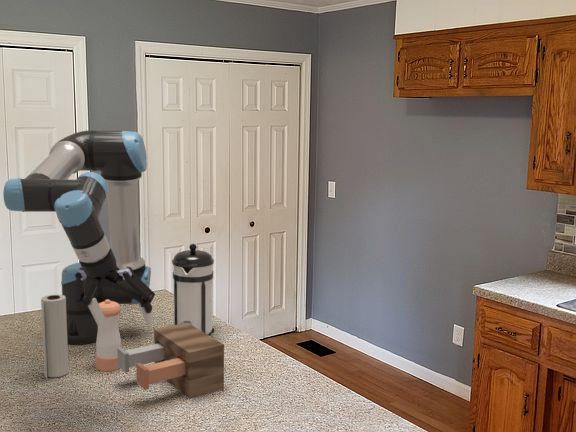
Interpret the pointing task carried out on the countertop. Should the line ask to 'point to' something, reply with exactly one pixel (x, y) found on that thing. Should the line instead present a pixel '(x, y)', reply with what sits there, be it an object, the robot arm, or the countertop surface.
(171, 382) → the block
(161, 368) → the plug terracotta
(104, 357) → the salt shaker
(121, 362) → the plug grey
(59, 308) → the paper towel roll
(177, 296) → the coffee press
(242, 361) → the countertop surface
